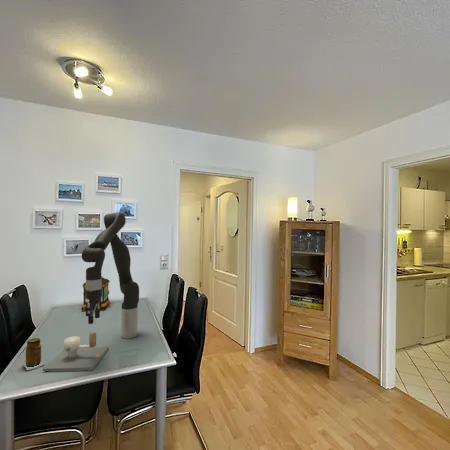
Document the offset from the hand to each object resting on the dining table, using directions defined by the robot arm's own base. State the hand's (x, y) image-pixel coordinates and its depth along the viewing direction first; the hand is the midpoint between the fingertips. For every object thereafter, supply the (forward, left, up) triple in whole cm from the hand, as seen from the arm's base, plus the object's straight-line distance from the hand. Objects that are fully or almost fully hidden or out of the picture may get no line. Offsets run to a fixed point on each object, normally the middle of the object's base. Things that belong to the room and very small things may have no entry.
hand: (94, 320), depth 140 cm
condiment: (+4, -26, -20) cm, 33 cm away
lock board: (0, -8, -19) cm, 21 cm away
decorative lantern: (-90, -33, -20) cm, 98 cm away
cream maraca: (0, -6, -14) cm, 16 cm away
